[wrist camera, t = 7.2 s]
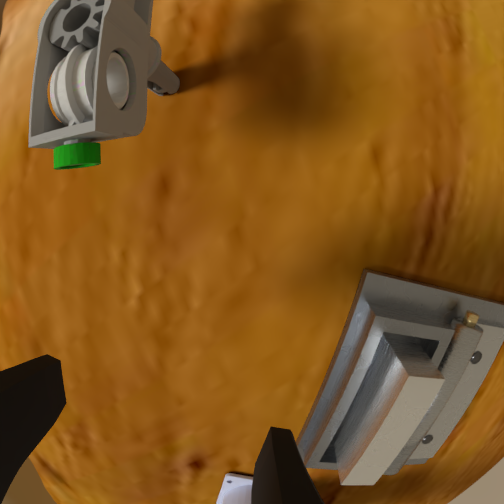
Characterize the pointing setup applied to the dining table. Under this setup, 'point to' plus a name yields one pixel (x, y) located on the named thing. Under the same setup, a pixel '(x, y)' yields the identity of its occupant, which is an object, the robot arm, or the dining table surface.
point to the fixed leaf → (432, 342)
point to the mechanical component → (94, 77)
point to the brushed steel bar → (385, 409)
